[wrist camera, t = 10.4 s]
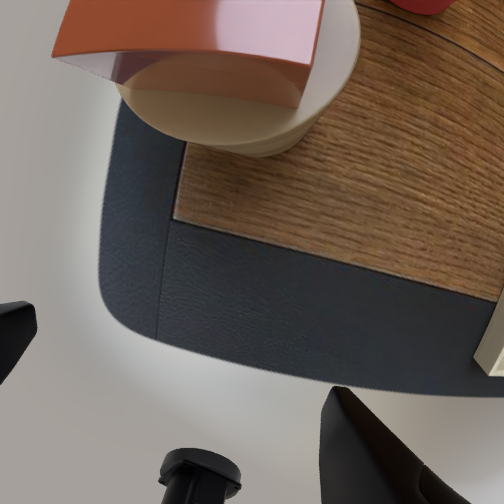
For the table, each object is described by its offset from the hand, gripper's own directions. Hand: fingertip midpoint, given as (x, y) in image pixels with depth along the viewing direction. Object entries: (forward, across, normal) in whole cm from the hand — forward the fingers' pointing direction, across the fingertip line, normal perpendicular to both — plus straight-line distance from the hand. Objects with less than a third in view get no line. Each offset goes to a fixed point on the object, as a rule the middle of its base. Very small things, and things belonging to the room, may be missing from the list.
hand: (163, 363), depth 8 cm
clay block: (+1, 0, -9) cm, 9 cm away
